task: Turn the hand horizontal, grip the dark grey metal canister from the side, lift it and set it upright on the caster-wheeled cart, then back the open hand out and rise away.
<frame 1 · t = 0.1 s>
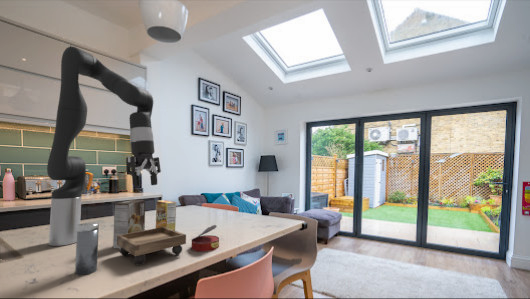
hand: (146, 186, 90), 22 cm above the kitchen island, tool pointing down, fingers open, 8 cm apart
canned food: (205, 247, 92), on the kitchen island
coffee box: (129, 245, 94), on the kitchen island
candy box: (165, 240, 100), on the kitchen island
cart: (151, 244, 84), point 3 cm above the kitchen island, slide at 0.0 cm
canister: (86, 271, 70), on the kitchen island
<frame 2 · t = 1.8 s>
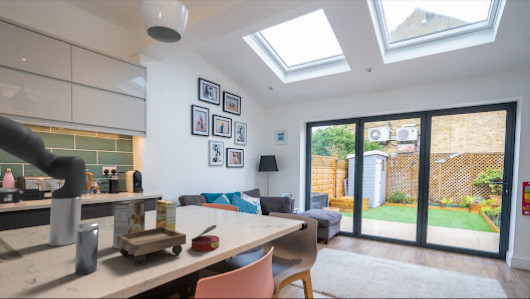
hand: (41, 193, 64), 22 cm above the kitchen island, tool horizontal, fingers open, 8 cm apart
nothing on the kitchen island moved.
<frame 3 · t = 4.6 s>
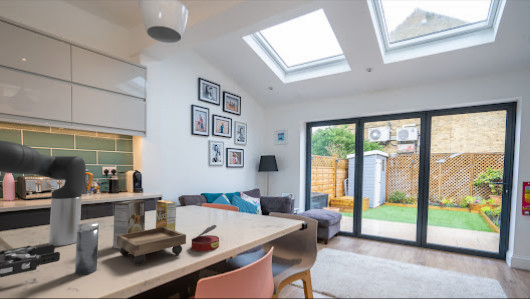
hand: (56, 252, 66), 7 cm above the kitchen island, tool horizontal, fingers open, 8 cm apart
nothing on the kitchen island moved.
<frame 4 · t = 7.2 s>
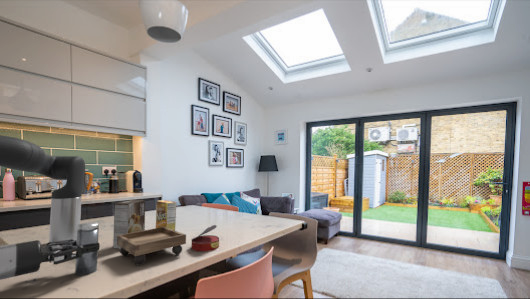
hand: (96, 244, 72), 7 cm above the kitchen island, tool horizontal, fingers closed on canister, 5 cm apart
canister: (86, 271, 70), on the kitchen island, touching gripper
everything else where it was.
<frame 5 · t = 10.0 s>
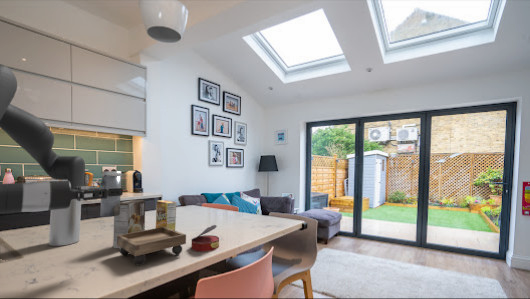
hand: (118, 191, 77), 22 cm above the kitchen island, tool horizontal, fingers closed on canister, 5 cm apart
canister: (110, 215, 75), point 15 cm above the kitchen island, touching gripper
everything else where it was.
when the fingers open (13 cm above the kitchen island, at t = 13.0 s): canister drops 1 cm, resting on cart.
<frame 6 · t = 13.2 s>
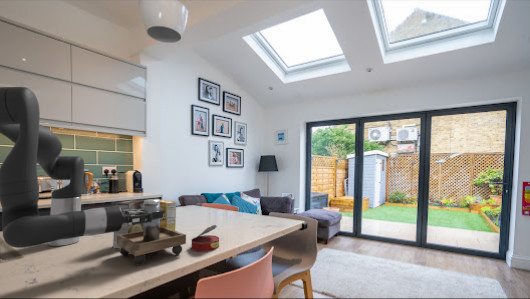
hand: (157, 212, 86), 13 cm above the kitchen island, tool horizontal, fingers open, 6 cm apart
cart: (151, 244, 84), point 3 cm above the kitchen island, slide at 0.0 cm, touching canister
canister: (151, 239, 84), point 5 cm above the kitchen island, touching cart
everything else where it was.
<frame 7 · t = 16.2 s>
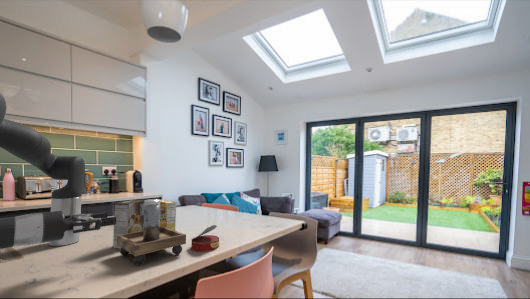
hand: (111, 218, 76), 14 cm above the kitchen island, tool horizontal, fingers open, 8 cm apart
nothing on the kitchen island moved.
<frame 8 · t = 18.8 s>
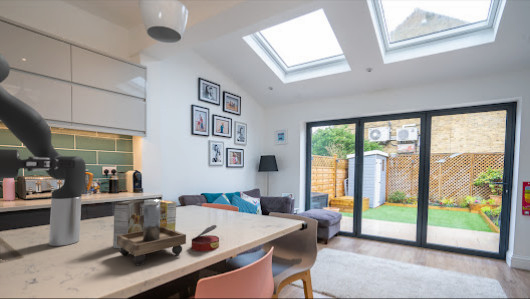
hand: (71, 164, 75), 30 cm above the kitchen island, tool horizontal, fingers open, 8 cm apart
nothing on the kitchen island moved.
at the end: canister inside the target area on the cart (0.1 cm from its centre), point 5.0 cm above the cart's base; canister tilted 0°; the gripper is holding nothing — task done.
